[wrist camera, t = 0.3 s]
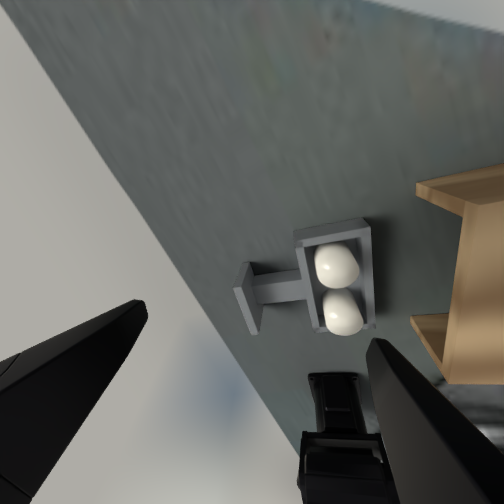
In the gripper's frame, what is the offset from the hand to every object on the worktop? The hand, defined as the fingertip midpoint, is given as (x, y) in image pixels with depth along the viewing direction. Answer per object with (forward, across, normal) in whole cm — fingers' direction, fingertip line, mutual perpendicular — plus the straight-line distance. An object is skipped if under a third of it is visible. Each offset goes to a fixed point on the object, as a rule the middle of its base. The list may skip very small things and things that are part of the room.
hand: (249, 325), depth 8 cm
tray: (+13, -3, +6) cm, 15 cm away
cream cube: (+13, -7, +8) cm, 17 cm away
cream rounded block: (+13, -5, +3) cm, 14 cm away
